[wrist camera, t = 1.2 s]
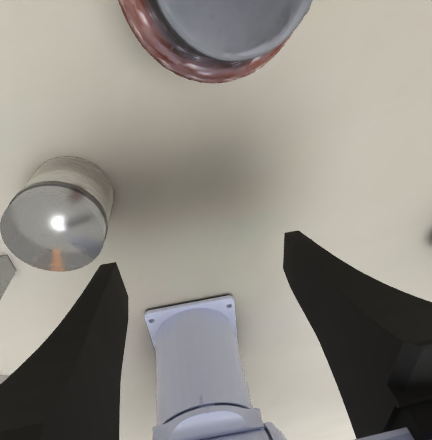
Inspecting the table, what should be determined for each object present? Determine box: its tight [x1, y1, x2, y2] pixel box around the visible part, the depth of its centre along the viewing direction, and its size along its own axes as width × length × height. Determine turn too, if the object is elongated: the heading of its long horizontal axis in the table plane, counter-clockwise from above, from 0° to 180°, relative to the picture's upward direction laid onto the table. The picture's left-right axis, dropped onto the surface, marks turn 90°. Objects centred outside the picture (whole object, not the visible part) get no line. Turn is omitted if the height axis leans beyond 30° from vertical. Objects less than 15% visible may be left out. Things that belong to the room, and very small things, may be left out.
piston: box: [0, 156, 114, 271], centre depth 19 cm, size 5×5×5 cm
